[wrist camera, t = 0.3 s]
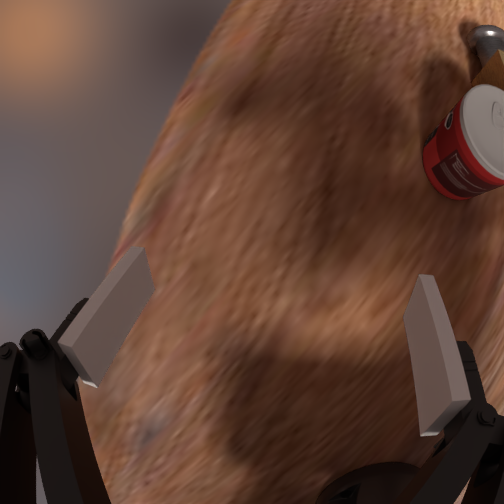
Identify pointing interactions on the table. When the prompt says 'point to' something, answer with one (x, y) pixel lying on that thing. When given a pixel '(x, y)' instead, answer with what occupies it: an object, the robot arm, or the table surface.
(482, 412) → the robot arm
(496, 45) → the valve pipe
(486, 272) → the table surface
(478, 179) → the canned food
